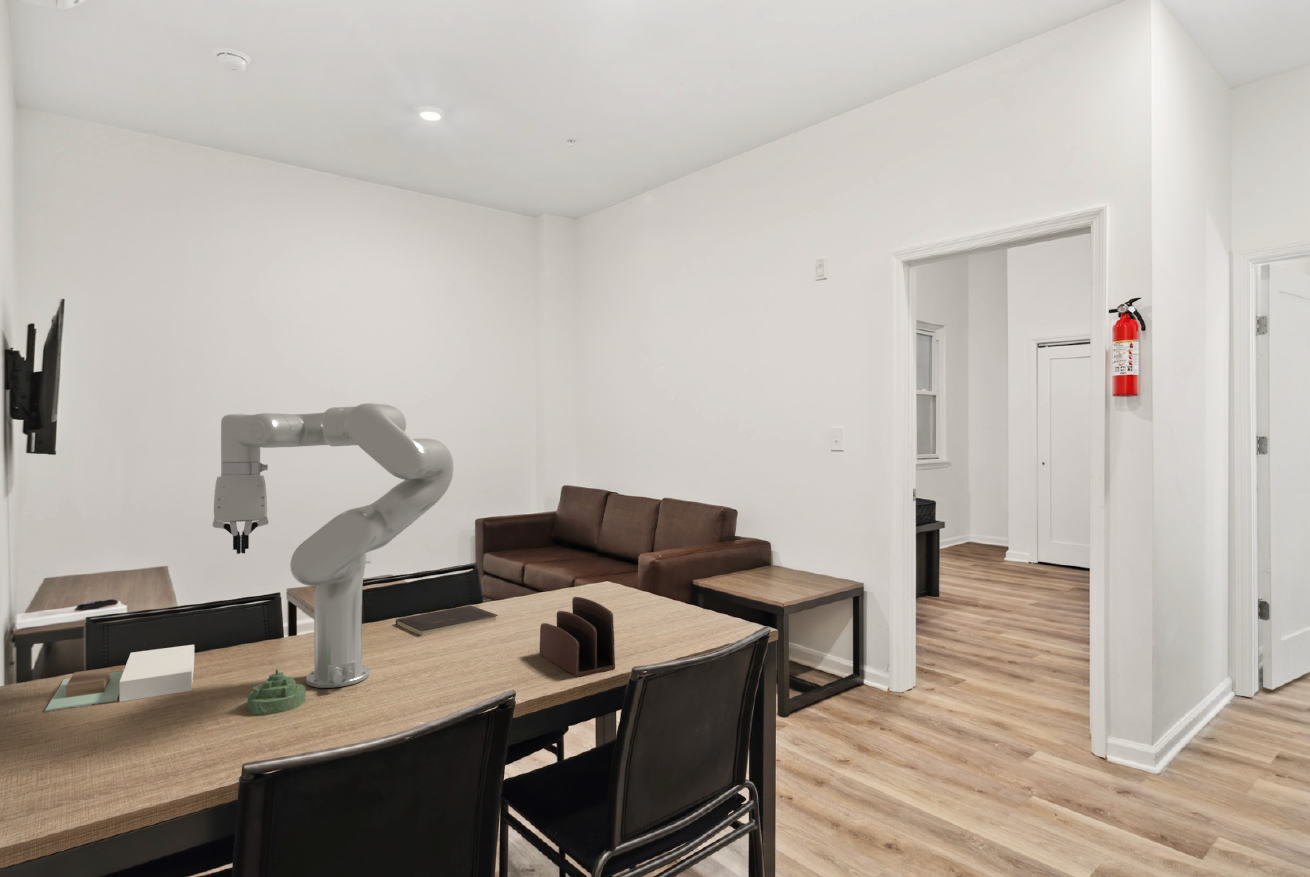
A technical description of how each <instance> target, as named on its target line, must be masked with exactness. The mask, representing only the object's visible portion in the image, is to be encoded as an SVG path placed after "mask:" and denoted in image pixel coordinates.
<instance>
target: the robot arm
mask: <svg viewBox="0 0 1310 877" xmlns="http://www.w3.org/2000/svg"><path fill="white" fill-rule="evenodd" d="M406 421H407V420H406V418H405V415H404V414H403V412H402V411H401V410H400V409H398V407H396V406H394V405H389V404H385V403H384V404H382V403H361V404H358V405H357V406H340V407H339V406H337V407H331V408H330V407H329V408H328V409H326V411H324V412H318V413H316V412H315V413H299V414H298V413H297V414H296V413H295V414H293V413H292V414H291V413H290V414H289V413H271V412H270V413H268V412H267V413H266V412H265V413H264V412H263V413H256V414H255V413H254V414H243V413H241V414H240V413H239V414H237V413H236V414H226V415H223V416H222V418H221V421H220V422H221V423H220V468H221V469H220V473H221V474H220V476H217V477H216V480H215V487H214V496H213V498H214V499H213V516H214V517H213V522H212V528H217V529H222V530H225V531H227V532H228V533H229V534H231V535H232V551H234V550H235V551H236V554H237V555H240V554H246V550H249V548H250V547H249V546H250V545H249V544H250V543H249V542H250V539H249V538H250V534H251V533H252V532H253V531H255V529H257V528H259V527H262V526H266V525H269V519H268V516H267V515H268V499H267V498H268V497H267V496H268V495H267V486H266V480H265V476H264V475H261V473H262V472H264V471H268V469H269V468H268V465H269V464H265V463H261V448H265V449H266V448H267V449H268V448H271V449H272V448H273V449H274V448H275V449H276V448H294V447H295V448H300V447H314V446H330V447H348V446H359V448H360V449H362V451H364V452H365V453H366V454H367V455H368V456H369V457H371V458H372V459H373V460H374V461H375V462H376V463H377V464H379V465H380V467H382V468H383V469H384V470H386V471H387V472H388V473H389V474H391V476H394V477H396V478H398V479H400V480H402V481H400V483H398V484H396V485H395V486H393V487H392V488H391V489H389V491H387V492H386V493H385V494H383V495H382V496H381V497H380V498H378V499H377V500H375V501H374V502H373V503H370V504H367V505H365V506H364V505H363V506H359V507H354V508H350V509H348V510H345V511H343V512H341V513H339V514H338V515H336V516H334V517H333V518H332V519H331V520H329V521H328V522H327V523H326V524H324V525H323V526H321V528H319V529H318V530H316V531H315V532H314V533H312V535H311V536H309V537H307V539H305V540H304V541H303V542H302V543H301V544H299V545H298V547H297V548H296V549H295V550H294V551H293V553H292V556H291V558H290V572H291V574H292V576H293V578H294V580H296V581H297V582H298V583H300V584H301V585H303V586H304V585H305V586H309V587H316V588H315V592H314V600H313V601H314V602H313V604H314V605H313V607H314V608H313V609H314V610H313V616H314V617H313V622H314V623H313V624H314V626H313V629H314V631H313V632H314V633H313V638H314V640H313V642H314V644H313V648H314V649H313V656H314V657H313V659H314V660H313V661H314V662H313V663H314V664H313V671H311V672H309V673H308V674H307V675H306V677H305V683H306V684H307V685H308V686H310V687H313V688H318V689H319V688H321V689H332V688H333V689H334V688H340V687H346V686H351V685H354V684H358V683H360V682H362V681H364V680H366V679H367V678H368V677H369V675H370V668H369V667H368V666H365V665H363V662H362V660H363V657H362V656H363V653H362V652H363V650H362V649H363V645H362V642H363V640H362V639H363V638H362V636H363V632H362V631H363V629H362V627H363V624H362V622H363V618H362V617H363V607H362V606H363V585H364V584H363V582H364V575H365V568H366V563H367V553H368V552H369V553H370V552H373V551H374V550H378V549H381V548H382V547H384V546H386V545H387V544H389V543H390V542H391V541H392V540H393V539H395V538H396V537H397V536H398V535H399V534H401V533H402V532H403V531H404V530H406V529H407V528H408V527H410V525H411V526H412V524H414V522H416V520H419V518H420V517H421V516H423V515H424V514H425V513H427V512H428V511H429V510H430V509H431V508H433V507H434V506H435V505H436V504H437V503H438V502H439V501H440V500H441V498H442V497H443V496H445V493H446V492H448V489H449V487H450V485H451V482H452V480H453V474H454V460H453V457H452V453H451V451H450V449H449V448H448V447H447V445H445V444H444V443H443V442H441V441H439V440H437V439H432V438H413V437H411V436H410V435H408V433H406V432H405V431H406V427H407V422H406ZM237 522H244V527H243V531H241V533H242V534H241V533H240V531H238V530H239V529H238V526H237Z"/></svg>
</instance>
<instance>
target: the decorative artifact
mask: <svg viewBox="0 0 1310 877" xmlns="http://www.w3.org/2000/svg"><path fill="white" fill-rule="evenodd" d="M305 702H306V687H305V685H303V684H301V683H296V680H295V679H294V676H286V675H284V672H279V669H275V673H272V674H270V675H268V678H267V679H266V681H263V682H261V683H260V684H258V685H254V686H253V687H252V691H251V692H250V693H249V694H248V695H247V711H248V712H249V713H251V714H254V715H261V716H262V715H263V716H264V715H274V714H281V713H285V712H288V711H292V710H294V709H297V708H299V707H301V706H302V705H304V703H305Z"/></svg>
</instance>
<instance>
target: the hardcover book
mask: <svg viewBox="0 0 1310 877" xmlns="http://www.w3.org/2000/svg"><path fill="white" fill-rule="evenodd" d="M497 617H498V614H496V613H493V612H491V611H488V610H484V609H482V608H478V607H476V606H474V605H470V604H469V605H465V606H461V607H460V606H459V607H455V608H449V609H443V610H437V611H433V612H427V613H422V614H421V613H420V614H416V615H411V616H405V617H400V618H396V620H395V625H396V626H399V625H400V626H399V627H401V626H402V628H403V629H405V630H408V631H410V632H412V633H414V634H416V635H419V634H420V635H419V636H421V635H422V636H421V637H425V636H428V634H430V635H434V634H439V633H444V632H448V631H447V630H449V631H454V630H457V629H458V628H459V629H464V628H468V627H472V626H471V625H473V626H478V625H483V624H487V623H488V624H489V623H491V622H492V621H493V622H497V619H498V618H497ZM467 626H468V627H467ZM463 627H464V628H463ZM443 631H444V632H443ZM424 635H425V636H424Z"/></svg>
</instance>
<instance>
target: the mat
mask: <svg viewBox="0 0 1310 877" xmlns="http://www.w3.org/2000/svg"><path fill="white" fill-rule="evenodd" d="M123 672H124V670H121V671H120V670H119V671H114V672H113V671H112V672H110V680H109V683H108V685H107V687H106V689H105V691H104V692H102V693H95V694H89V695H82V696H75V697H68V698H66V685H67V683H68V682H69V680H70V679H71V677H70V678H64V679H63V680H62V682H61V683H60V685H59V686H58V689H57V690H56V692H55V693H54V695H53V696H52V698H51V700H50V701H49V702H48V705H47V707H46V708H45V709H44V712H45V713H48V712H47V711H49V712H53V711H52V710H55V711H58V710H57V709H62V708H66V707H68V709H70V708H69V707H74V708H79V707H80V706H81V707H86V706H93V705H92V704H94V705H99V703H100V704H106V703H111V702H113V703H114V702H117V701H118V700H119V698H120V679H121V677H122V674H123ZM62 710H63V709H62Z"/></svg>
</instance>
